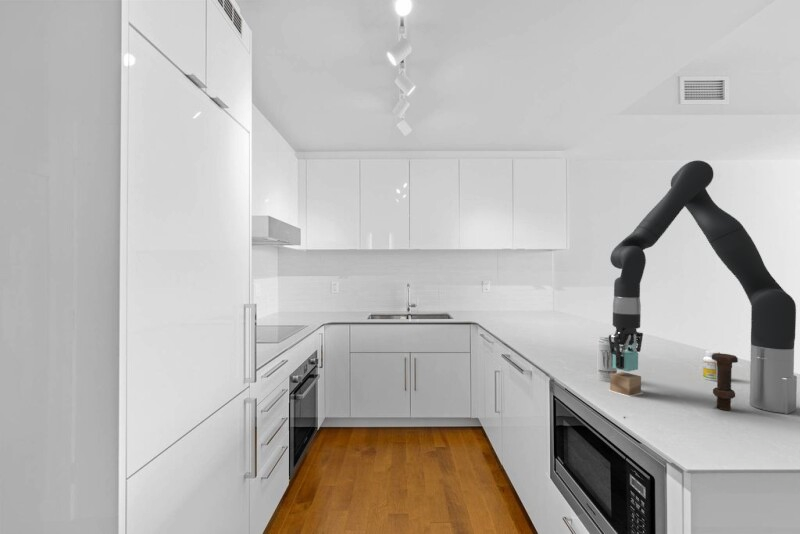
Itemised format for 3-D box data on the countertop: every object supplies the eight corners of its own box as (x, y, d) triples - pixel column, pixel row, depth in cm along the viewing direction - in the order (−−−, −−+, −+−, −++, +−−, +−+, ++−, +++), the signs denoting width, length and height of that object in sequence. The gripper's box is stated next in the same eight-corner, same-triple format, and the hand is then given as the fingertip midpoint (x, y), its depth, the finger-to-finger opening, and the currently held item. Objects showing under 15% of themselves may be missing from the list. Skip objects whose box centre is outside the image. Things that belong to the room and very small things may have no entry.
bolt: (724, 413, 117) (725, 357, 117) (706, 407, 122) (707, 353, 122) (740, 411, 119) (741, 356, 118) (722, 405, 124) (723, 352, 123)
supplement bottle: (715, 377, 154) (716, 350, 153) (725, 381, 148) (726, 353, 148) (699, 376, 154) (700, 349, 154) (708, 381, 149) (709, 352, 149)
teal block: (637, 369, 132) (638, 353, 132) (628, 371, 129) (628, 354, 129) (622, 365, 136) (622, 349, 136) (612, 367, 134) (612, 351, 133)
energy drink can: (598, 384, 144) (598, 339, 143) (595, 379, 149) (596, 336, 149) (618, 386, 142) (618, 340, 142) (614, 381, 148) (615, 337, 147)
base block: (640, 392, 131) (641, 376, 131) (629, 395, 128) (629, 378, 128) (622, 387, 136) (622, 371, 136) (610, 390, 133) (610, 374, 133)
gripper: (623, 314, 125) (622, 373, 126) (652, 311, 133) (651, 367, 133) (600, 311, 132) (599, 367, 132) (628, 309, 139) (627, 362, 139)
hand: (625, 367), depth 132 cm, fingers closed on teal block, 5 cm apart
